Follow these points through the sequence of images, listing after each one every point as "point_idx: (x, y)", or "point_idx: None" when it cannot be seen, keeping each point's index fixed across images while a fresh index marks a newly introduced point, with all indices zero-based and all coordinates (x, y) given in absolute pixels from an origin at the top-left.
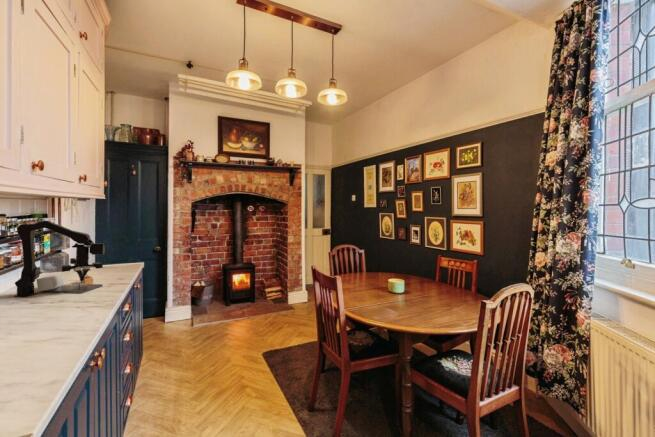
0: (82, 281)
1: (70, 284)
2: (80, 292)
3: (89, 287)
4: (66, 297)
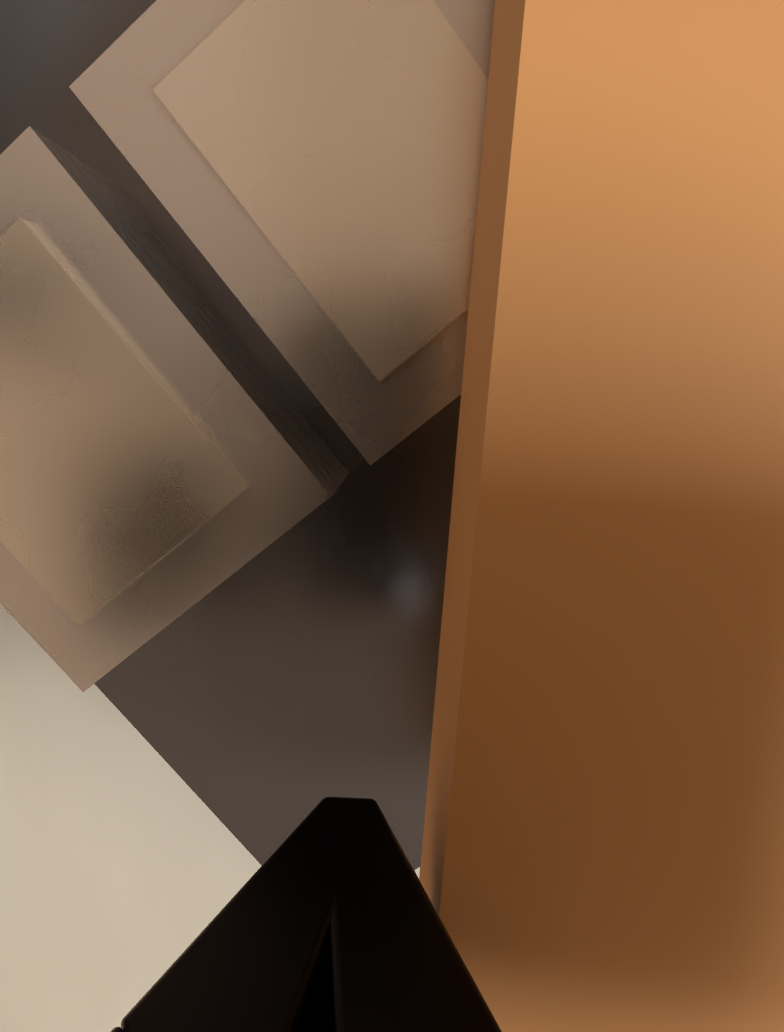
0: (449, 575)
1: (59, 426)
2: None
3: None
4: (18, 987)
